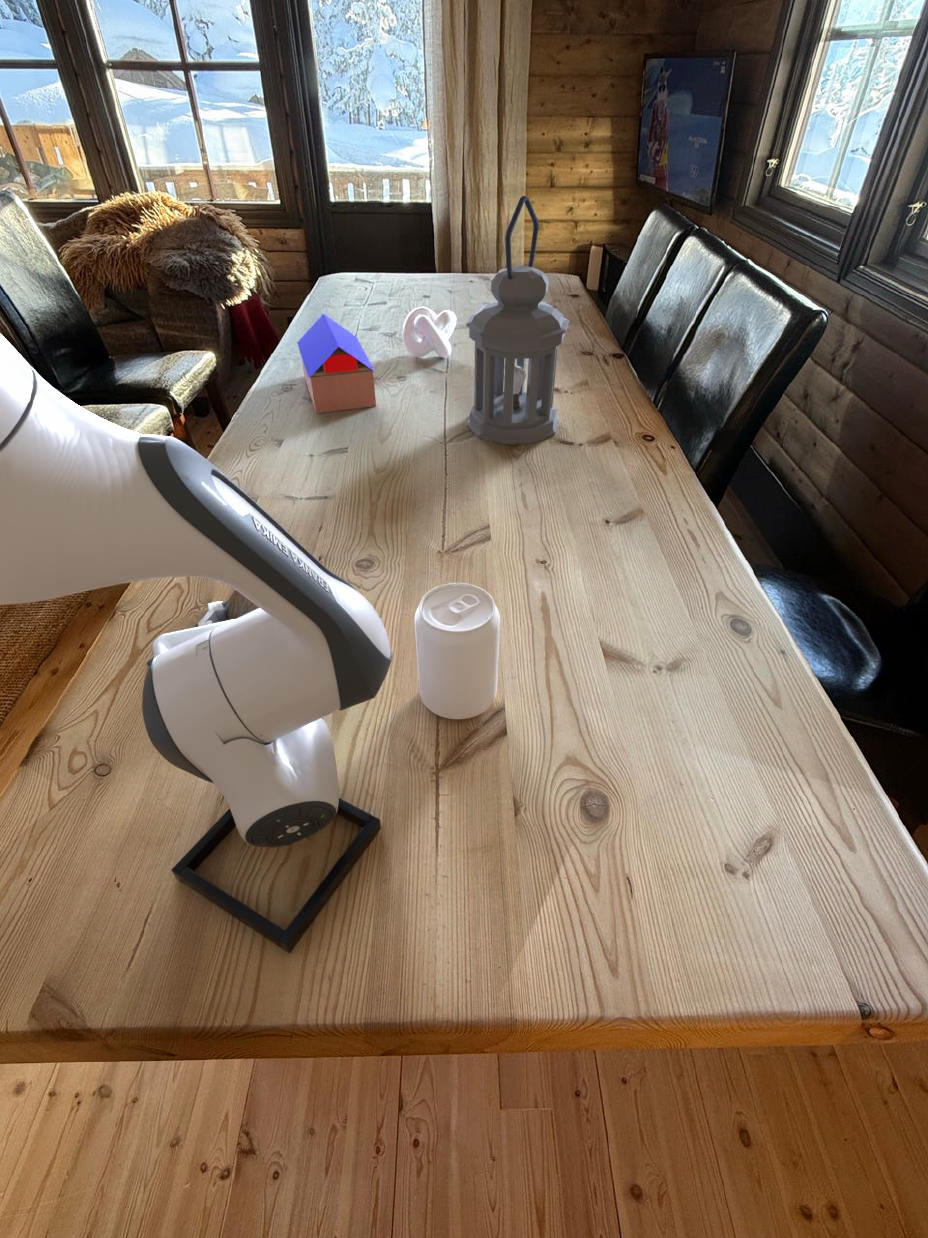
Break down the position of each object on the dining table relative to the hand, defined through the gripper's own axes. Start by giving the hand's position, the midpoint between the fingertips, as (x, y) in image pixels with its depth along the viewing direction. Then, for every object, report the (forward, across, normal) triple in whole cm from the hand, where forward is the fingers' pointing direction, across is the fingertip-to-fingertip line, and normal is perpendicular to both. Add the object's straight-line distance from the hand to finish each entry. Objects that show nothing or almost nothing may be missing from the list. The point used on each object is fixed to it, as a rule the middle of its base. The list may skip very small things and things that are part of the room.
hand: (254, 599), depth 72 cm
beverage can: (-15, -18, +6) cm, 25 cm away
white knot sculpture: (+82, -45, +6) cm, 94 cm away
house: (+70, -22, +6) cm, 73 cm away
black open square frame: (-28, +2, +6) cm, 28 cm away
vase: (-1, 0, +6) cm, 6 cm away
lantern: (+44, -49, +6) cm, 66 cm away
